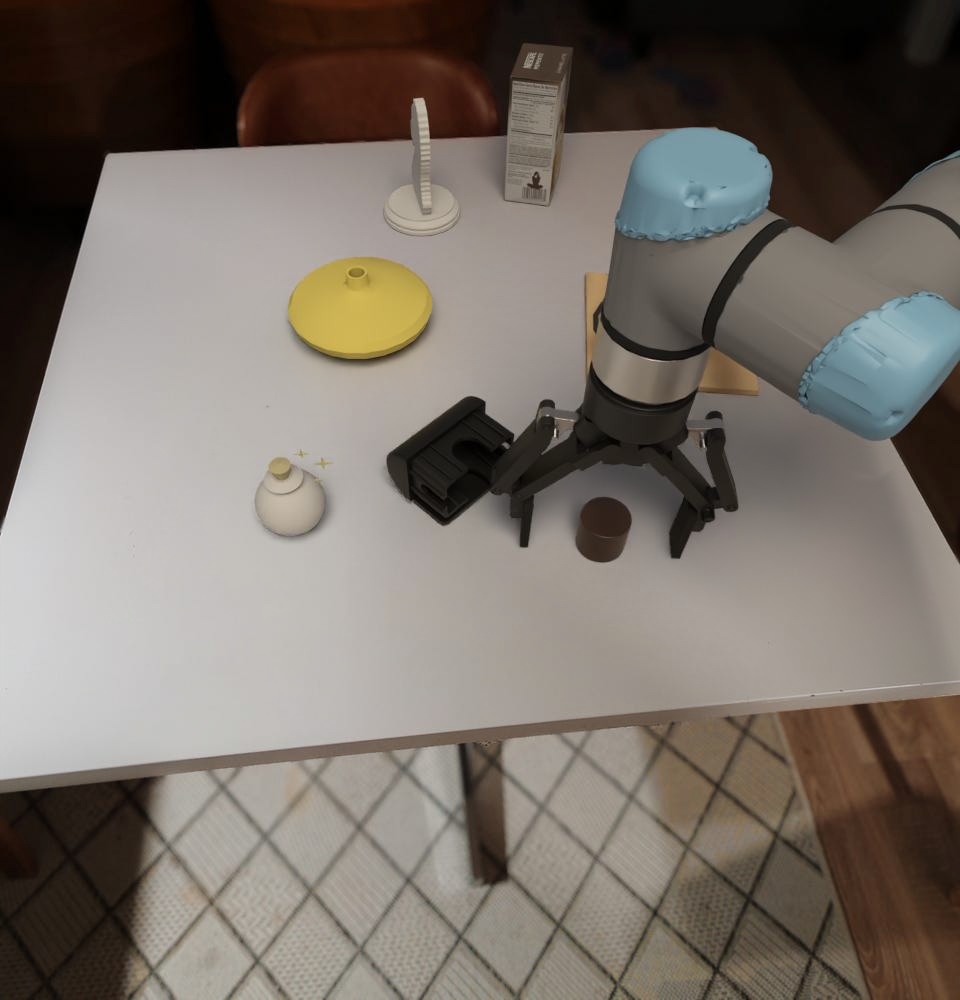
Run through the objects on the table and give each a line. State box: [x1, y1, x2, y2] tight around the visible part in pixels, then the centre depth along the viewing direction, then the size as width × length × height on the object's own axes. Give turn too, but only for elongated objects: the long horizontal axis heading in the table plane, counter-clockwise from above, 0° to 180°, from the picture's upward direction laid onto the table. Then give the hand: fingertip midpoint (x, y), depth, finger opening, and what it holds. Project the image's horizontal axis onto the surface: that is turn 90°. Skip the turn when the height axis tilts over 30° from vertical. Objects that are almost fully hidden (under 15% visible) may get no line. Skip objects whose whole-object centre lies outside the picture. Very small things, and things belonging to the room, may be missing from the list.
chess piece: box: [383, 97, 461, 237], centre depth 93 cm, size 10×10×15 cm
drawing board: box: [584, 271, 761, 396], centre depth 86 cm, size 18×18×1 cm
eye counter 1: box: [575, 496, 633, 564], centre depth 68 cm, size 4×4×4 cm
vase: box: [286, 256, 433, 360], centre depth 83 cm, size 16×16×7 cm
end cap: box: [385, 395, 515, 526], centre depth 71 cm, size 10×7×7 cm
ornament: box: [254, 448, 333, 537], centre depth 66 cm, size 6×7×10 cm
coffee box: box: [503, 42, 574, 207], centre depth 97 cm, size 9×6×16 cm
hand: (599, 540), depth 69 cm, fingers open, 13 cm apart
